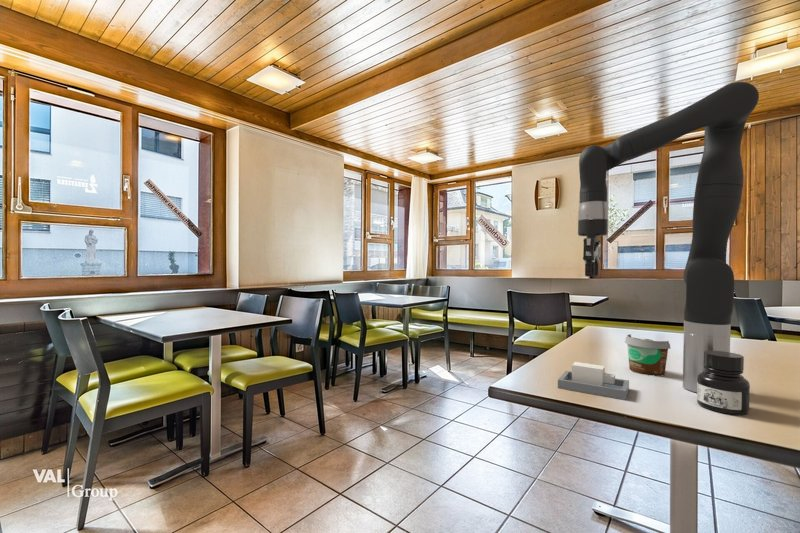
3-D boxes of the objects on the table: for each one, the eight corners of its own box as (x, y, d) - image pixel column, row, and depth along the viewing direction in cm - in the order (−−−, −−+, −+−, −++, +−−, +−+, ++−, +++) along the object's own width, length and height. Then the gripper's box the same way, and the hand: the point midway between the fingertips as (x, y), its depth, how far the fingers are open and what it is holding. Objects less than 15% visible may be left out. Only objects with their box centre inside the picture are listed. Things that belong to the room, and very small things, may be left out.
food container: (615, 368, 118) (615, 335, 118) (628, 365, 121) (628, 333, 121) (656, 379, 107) (657, 343, 107) (670, 376, 110) (670, 341, 110)
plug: (574, 380, 103) (575, 361, 103) (615, 387, 97) (615, 367, 97) (571, 384, 100) (572, 365, 99) (613, 391, 94) (613, 371, 94)
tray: (628, 388, 98) (629, 380, 98) (625, 400, 90) (626, 391, 90) (565, 378, 107) (565, 370, 107) (557, 387, 99) (557, 379, 99)
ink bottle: (686, 403, 89) (687, 350, 88) (709, 398, 92) (710, 347, 92) (737, 419, 80) (738, 361, 80) (760, 413, 83) (761, 357, 83)
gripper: (582, 221, 118) (581, 275, 118) (573, 217, 106) (572, 276, 107) (610, 220, 114) (609, 275, 114) (604, 215, 102) (603, 277, 102)
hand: (591, 276), depth 110 cm, fingers open, 8 cm apart
